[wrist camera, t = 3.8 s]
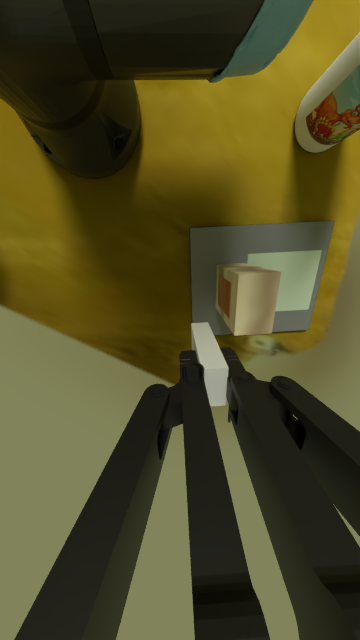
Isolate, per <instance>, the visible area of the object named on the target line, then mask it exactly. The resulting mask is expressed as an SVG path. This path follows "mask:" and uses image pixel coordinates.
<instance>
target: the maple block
mask: <svg viewBox="0 0 360 640" xmlns="http://www.w3.org/2000/svg"><path fill="white" fill-rule="evenodd" d="M280 277H281V272H279V271H275V270H271V269H267V268H263V267H259V266H255V265H251V264H246V263H236V264H217V265H216V304H215V308H216V309H217V311H218V312H219V314H220V315H221V317H222V318H223V319H224V321H225V322H226V324H227V325H228V327H229V328H230V330H231V331H232V333H233V334H234V336H237V335H254V334H271V333H272V328H273V322H274V316H275V309H276V303H277V296H278V290H279V284H280Z"/></svg>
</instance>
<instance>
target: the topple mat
mask: <svg viewBox="0 0 360 640" xmlns="http://www.w3.org/2000/svg"><path fill="white" fill-rule="evenodd" d="M333 225H334V221H319V222H300V223H280V224H261V225H242V226H222V227H203V228H190V254H191V293H192V323H205V322H208V323H209V326H210V328H211V330H212V332H213V335H227V334H233V333H232V331H231V330H230V328H229V327H228V325H227V324H226V322H225V321H224V319H223V318H222V317H221V315H220V314H219V312H218V311H217V309H216V308H215V304H216V265H217V264H236V263H246V264H251V265H255V266H259V267H263V268H267V269H271V270H275V271H279V272H281V277H280V284H279V290H278V296H277V303H276V309H275V316H274V322H273V328H272V332H279V331H296V330H309V326H310V321H311V317H312V313H313V309H314V305H315V300H316V296H317V292H318V288H319V284H320V279H321V275H322V271H323V267H324V263H325V258H326V254H327V250H328V246H329V242H330V237H331V233H332V229H333Z"/></svg>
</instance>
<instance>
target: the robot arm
mask: <svg viewBox="0 0 360 640" xmlns="http://www.w3.org/2000/svg"><path fill="white" fill-rule="evenodd" d="M312 2H313V0H0V98H1V99H2V100H4V101H5V102H6V103H7V104H8V105H10V106H11V107H12V108H13V109H14V110H15V111H16V113H17V114H18V116H19V117H20V119H21V120H22V122H23V124H24V125H25V127H26V128H27V130H28V131H29V133H30V134H31V136H32V137H33V139H34V140H35V142H36V143H37V144H38V145H39V147H40V148H41V149H42V150H43V151H44V152H45V153H46V154H47V155H48V156H49V157H50V158H51V159H53V160H54V161H55V162H56V163H58V164H59V165H61V166H62V167H63V168H65V169H66V170H68V171H70V172H72V173H73V174H76V175H78V176H81V177H85V178H103V177H107V176H110V175H112V174H114V173H115V172H117V171H118V170H120V169H121V168H122V167H123V166H124V165H125V164H126V162H127V161H128V160H129V158H130V157H131V155H132V153H133V151H134V149H135V146H136V143H137V140H138V135H139V129H140V107H139V100H138V95H137V91H136V87H135V83H134V80H204V79H207V80H208V81H209V82H211V83H214V82H218V81H220V80H222V79H223V78H224V77H234V76H244V75H252V74H255V73H258V72H260V71H261V70H263V69H264V68H266V67H267V66H268V65H269V64H270V63H271V62H272V61H273V59H274V58H275V57H276V56H277V54H278V53H280V52H281V51H282V50H283V49H284V47H285V46H286V45H287V43H288V42H289V40H290V39H291V37H292V36H293V34H294V33H295V31H296V30H297V28H298V27H299V25H300V23H301V22H302V20H303V18H304V17H305V15H306V13H307V11H308V9H309V8H310V6H311V4H312ZM191 339H192V350H189V351H182V352H181V353H180V355H179V356H180V377H181V378H180V381H179V382H178V383H177V384H176V385H175V386H172V387H169V388H167V387H166V386H165V385H163V384H154V385H151V386H150V387H148V388H147V389H146V390H145V391H144V393H143V395H142V397H141V399H140V401H139V403H138V405H137V407H136V409H135V410H134V412H133V414H132V416H131V418H130V420H129V422H128V424H127V426H126V428H125V430H124V432H123V433H122V435H121V437H120V439H119V441H118V443H117V445H116V447H115V449H114V451H113V452H112V455H111V456H110V458H109V460H108V462H107V464H106V466H105V468H104V470H103V472H102V473H101V476H100V477H99V479H98V481H97V483H96V485H95V487H94V489H93V491H92V493H91V495H90V497H89V498H88V500H87V502H86V504H85V506H84V508H83V510H82V512H81V514H80V515H79V517H78V519H77V521H76V523H75V525H74V527H73V529H72V531H71V533H70V535H69V537H68V538H67V540H66V542H65V544H64V546H63V548H62V550H61V552H60V554H59V556H58V558H57V559H56V561H55V563H54V565H53V567H52V569H51V571H50V573H49V575H48V577H47V578H46V580H45V582H44V584H43V586H42V588H41V590H40V592H39V594H38V596H37V598H36V600H35V601H34V603H33V605H32V607H31V609H30V611H29V613H28V615H27V617H26V619H25V620H24V622H23V624H22V626H21V629H20V630H19V632H18V634H17V636H16V638H15V639H14V640H116V636H117V633H118V629H119V625H120V622H121V618H122V614H123V610H124V607H125V603H126V599H127V595H128V592H129V588H130V584H131V580H132V577H133V573H134V569H135V566H136V562H137V558H138V554H139V550H140V547H141V543H142V539H143V536H144V532H145V528H146V525H147V521H148V517H149V513H150V509H151V506H152V502H153V498H154V495H155V491H156V487H157V483H158V479H159V476H160V472H161V468H162V464H163V461H164V457H165V454H166V450H167V446H168V442H169V438H170V435H171V431H172V428H173V427H175V426H178V425H180V424H183V430H184V448H185V467H186V485H187V502H188V521H189V539H190V557H191V576H192V594H193V612H194V630H195V640H270V637H269V633H268V630H267V626H266V623H265V619H264V615H263V612H262V609H261V605H260V603H259V600H258V598H257V596H256V593H255V591H254V589H253V586H252V583H251V579H250V575H249V572H248V567H247V563H246V559H245V555H244V550H243V546H242V541H241V537H240V533H239V529H238V524H237V520H236V516H235V511H234V507H233V502H232V498H231V494H230V490H229V485H228V481H227V477H226V472H225V468H224V464H223V460H222V455H221V451H220V446H219V442H218V438H217V434H216V429H215V425H214V421H213V416H212V412H211V408H210V406H222V405H226V403H227V400H228V403H229V412H228V422H230V418H231V421H232V424H233V427H234V430H235V433H236V436H237V439H238V442H239V445H240V448H241V451H242V454H243V457H244V460H245V463H246V466H247V469H248V472H249V476H250V478H251V482H252V484H253V488H254V491H255V494H256V496H257V500H258V503H259V506H260V509H261V512H262V515H263V518H264V521H265V524H266V527H267V530H268V533H269V536H270V539H271V542H272V545H273V549H274V551H275V555H276V558H277V561H278V564H279V567H280V570H281V573H282V576H283V579H284V582H285V585H286V588H287V591H288V594H289V597H290V600H291V603H292V606H293V610H294V613H295V616H296V621H297V625H298V631H299V639H300V640H360V547H359V545H358V544H357V542H356V541H355V539H354V537H353V536H352V534H351V533H350V531H349V529H348V528H347V526H346V524H345V523H344V521H343V519H342V518H341V516H340V515H339V513H338V511H337V510H336V508H337V509H338V510H339V511H340V513H341V514H342V515H343V516H344V518H345V519H346V520H347V521H348V523H349V524H350V525H351V526H352V527H353V529H354V530H355V531H356V532H357V534H358V535H359V536H360V432H359V431H358V430H356V429H355V428H354V427H353V426H351V425H350V424H349V423H348V422H346V421H345V420H344V419H342V418H341V417H340V416H339V415H337V414H336V413H335V412H334V411H332V410H331V409H329V408H328V407H327V406H326V405H325V404H323V403H322V402H321V401H319V400H318V399H317V398H315V397H314V396H313V395H312V394H310V393H309V392H308V391H307V390H305V389H304V388H303V387H301V386H300V385H299V384H298V383H296V382H295V381H294V380H292V379H290V378H287V377H284V376H275V377H273V378H272V379H271V382H265V381H260V380H257V379H255V377H254V376H253V375H252V374H251V373H249V372H247V371H245V369H244V367H243V365H242V364H241V362H240V360H239V358H238V357H237V355H236V353H235V352H234V351H233V350H232V349H231V348H219V346H218V343H217V341H216V339H215V337H214V335H213V332H212V330H211V328H210V326H209V323H208V322H205V323H191ZM293 415H294V416H295V417H296V418H297V419H298V420H297V419H296V418H295V417H294V416H293ZM333 504H334V505H335V507H336V508H335V507H334V505H333Z"/></svg>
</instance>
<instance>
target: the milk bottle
mask: <svg viewBox="0 0 360 640" xmlns="http://www.w3.org/2000/svg"><path fill="white" fill-rule="evenodd" d="M358 130H360V32H359V33H358V35H357V36H356V37H355V38H354V39H353V40H352V41H351V43H350V44H349V45H348V46H347V47H346V48H345V49H344V51H343V52H342V53H341V54H340V55H339V56H338V57H337V59H336V60H335V61H334V62H333V63H332V64H331V65H330V67H329V68H328V69H327V70H326V71H325V72H324V74H323V75H322V76H321V77H320V78H319V79H318V80H317V82H316V83H315V84H314V85H313V86H312V88H311V89H310V90H309V91H308V92H307V94H306V95H305V97H304V98H303V100H302V102H301V104H300V106H299V108H298V111H297V115H296V120H295V134H296V138H297V141H298V143H299V145H300V146H301V147H302V148H303V149H304V150H306V151H308V152H313V153H318V152H322V151H325V150H327V149H329V148H331V147H332V146H334V145H336V144H337V143H339V142H340V141H342V140H344V139H345V138H347V137H348V136H350V135H352V134H353V133H355V132H356V131H358Z"/></svg>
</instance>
